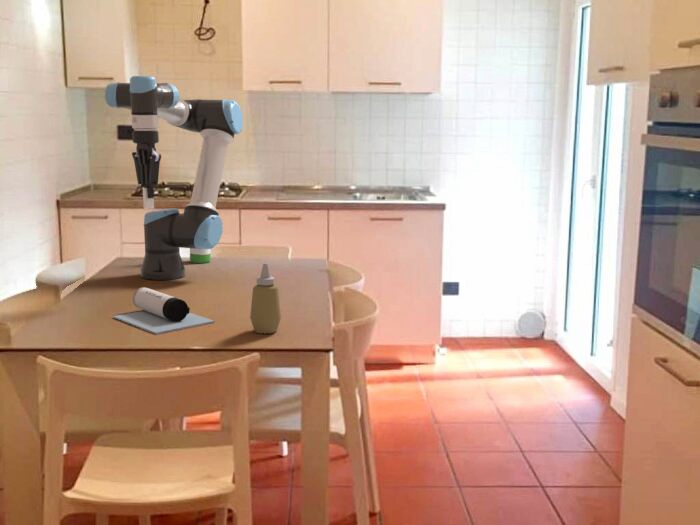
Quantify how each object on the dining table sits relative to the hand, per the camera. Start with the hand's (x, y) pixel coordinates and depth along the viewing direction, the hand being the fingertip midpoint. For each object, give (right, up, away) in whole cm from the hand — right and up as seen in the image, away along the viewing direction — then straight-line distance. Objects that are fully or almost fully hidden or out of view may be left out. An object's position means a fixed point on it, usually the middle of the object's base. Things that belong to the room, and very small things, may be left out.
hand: (148, 208), depth 239 cm
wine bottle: (+4, -16, +64) cm, 66 cm away
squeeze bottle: (+39, -34, -31) cm, 60 cm away
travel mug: (+1, -26, -12) cm, 29 cm away
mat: (+10, -32, -22) cm, 40 cm away
